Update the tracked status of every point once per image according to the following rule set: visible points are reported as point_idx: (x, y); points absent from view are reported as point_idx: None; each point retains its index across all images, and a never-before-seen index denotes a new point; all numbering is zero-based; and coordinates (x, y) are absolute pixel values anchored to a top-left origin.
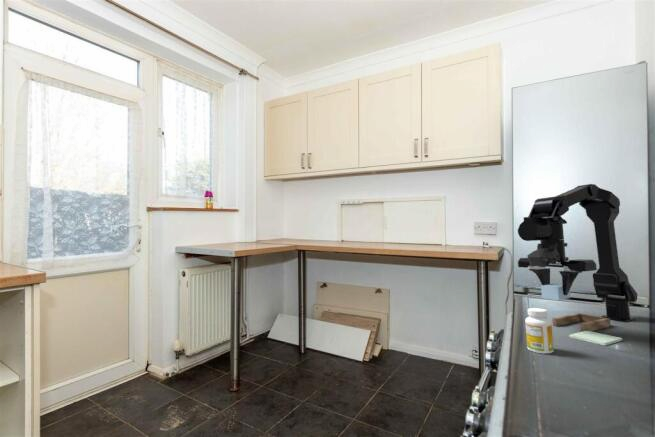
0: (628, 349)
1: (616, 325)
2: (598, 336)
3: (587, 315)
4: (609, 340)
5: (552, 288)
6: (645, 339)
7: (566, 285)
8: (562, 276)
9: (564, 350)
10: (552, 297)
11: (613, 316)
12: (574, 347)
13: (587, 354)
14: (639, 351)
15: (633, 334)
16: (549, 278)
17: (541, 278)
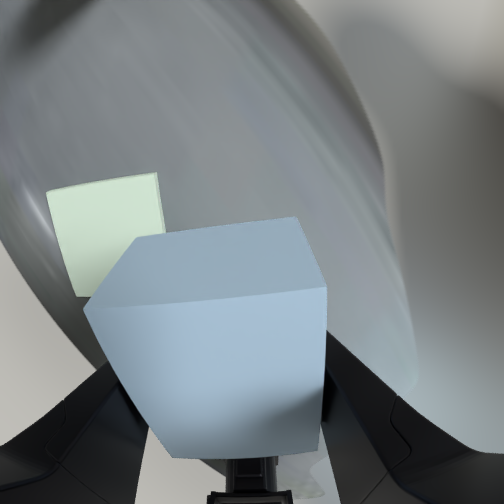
0: (19, 219)
1: None
2: (103, 253)
3: None
4: (62, 238)
5: (151, 289)
6: (82, 347)
7: (72, 391)
8: (38, 470)
9: (69, 20)
10: (185, 235)
11: None
12: (70, 75)
13: (24, 61)
14: (7, 228)
15: None
16: (338, 484)
17: (390, 432)
